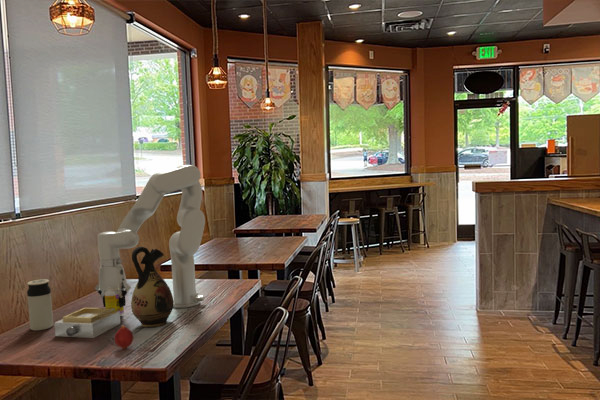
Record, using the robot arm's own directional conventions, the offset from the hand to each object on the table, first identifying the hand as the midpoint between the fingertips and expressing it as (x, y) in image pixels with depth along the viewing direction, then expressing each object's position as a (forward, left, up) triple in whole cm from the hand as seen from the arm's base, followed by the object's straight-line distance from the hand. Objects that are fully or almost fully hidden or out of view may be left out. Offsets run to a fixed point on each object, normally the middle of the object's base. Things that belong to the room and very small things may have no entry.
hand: (114, 306), depth 202 cm
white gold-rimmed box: (+1, +16, -5) cm, 16 cm away
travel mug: (+22, +16, -5) cm, 27 cm away
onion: (-25, +32, -5) cm, 41 cm away
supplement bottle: (0, 0, -4) cm, 4 cm away
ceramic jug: (-20, +7, -5) cm, 22 cm away
